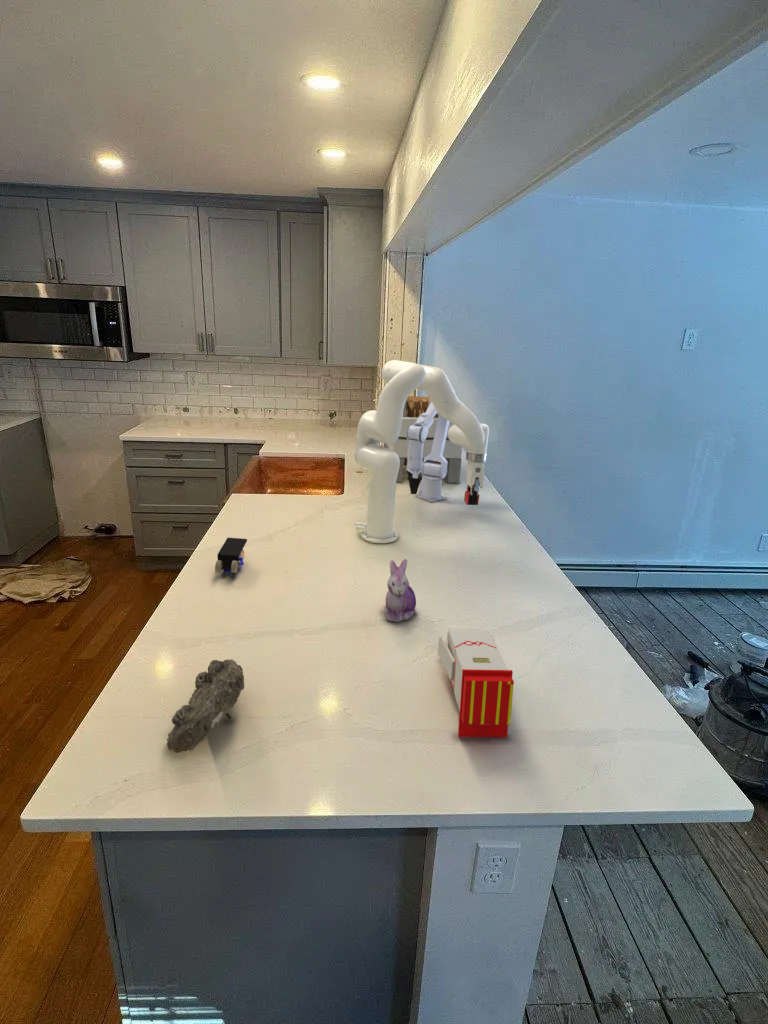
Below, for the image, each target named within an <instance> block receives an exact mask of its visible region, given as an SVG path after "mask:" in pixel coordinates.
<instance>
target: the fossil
mask: <svg viewBox="0 0 768 1024" xmlns="http://www.w3.org/2000/svg"><path fill="white" fill-rule="evenodd" d="M243 670H244V669H243V667H242V665H240V664H237V662H236V661H235V660H234V659H232V658H231V659H227V658H226V659H224V660H223V661H222V660H217V659H212V660H211V661H210V663H209V665H208V666H207V671H201V672H199V673H198V674H197V675H196V676H195V680H194V684H195V685H194V687H195V689H194V690H193V693H192V694H191V697H190V698H189V700H188V704H184V705H182V706H181V707H180V709H177V710H176V711H175V713H174V715H173V716H172V718H171V723H172V724H173V727H172V730H171V731H170V732H168V734H167V738H166V741H167V742H166V745H167V749H168V750H169V751H173V752H174V753H176V754H178V753H182V752H188V751H189V752H192V751H193V750H195V748H196V747H197V746H199V744H200V743H201V742H203V741H204V740H205V739H206V738H207V737H208V736H209V735H210V734H211V733H212V732H214V730H215V729H217V727H218V726H219V724H220V722H221V721H222V720H223V719H224V718H225V716H226V717H227V719H229V720H233V717H232V715H230V714H229V710H230V709H231V708H234V706H235V704H236V703H237V702H238V699H239V697H240V695H241V693H242V691H243V690H245V689H244V688H245V675H244V671H243Z"/></svg>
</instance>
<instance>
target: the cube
mask: <svg viewBox="0 0 768 1024" xmlns="http://www.w3.org/2000/svg"><path fill="white" fill-rule="evenodd" d="M470 492H471V491H467V490H465V491H464V503H465V504H466V506H470V505H469V495H470ZM479 502H480V493H478V500H477V505H476V506H479Z"/></svg>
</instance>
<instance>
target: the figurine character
mask: <svg viewBox="0 0 768 1024" xmlns="http://www.w3.org/2000/svg"><path fill="white" fill-rule="evenodd" d="M247 542H248V538H240V537H226V539H225V541H224V543H223V544H222V546H221V547H220V549H219V551H218V552H217V560H216V562H215V564H214V572H215V573H221V577H222V578H224V577H225V576H226V574H227V573H230V574H231V573H232V574H231V578H234V577H235V575H236V573H237V572H239V571H240V567H242V566H243V565H244V564H245V562H244V558H245V551H244V547H245V546H246V544H247Z"/></svg>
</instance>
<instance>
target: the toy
mask: <svg viewBox="0 0 768 1024" xmlns="http://www.w3.org/2000/svg"><path fill="white" fill-rule="evenodd" d="M446 640H447V643H446V641H445V639H444V636H443V635H442V634H439V637H438V646H437V656H438V657H439V659H440V661H441V663H442V666H443V668H444V670H445V672H446V674H447V677H448V679H449V681H450V684H451V687H452V690H453V693H454V697H455V701H456V705H457V708H458V711H459V714H458V715H459V716H458V730H457V731H458V732H457V737H458V738H508V731H509V726H510V725H511V717H512V707H513V697H514V696H513V695H514V684H515V680H514V679H513V673H514V671H513V670H512V669H508V667H507V665H506V662H505V661H504V659H503V658H502V655H501V653H500V651H499V649H498V647H497V643H496V639H495V637H494V635H493V634H491V632H490V631H489V629H467V628H466V629H465V628H463V629H461V628H460V629H459V628H448V630H447V639H446Z"/></svg>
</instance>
